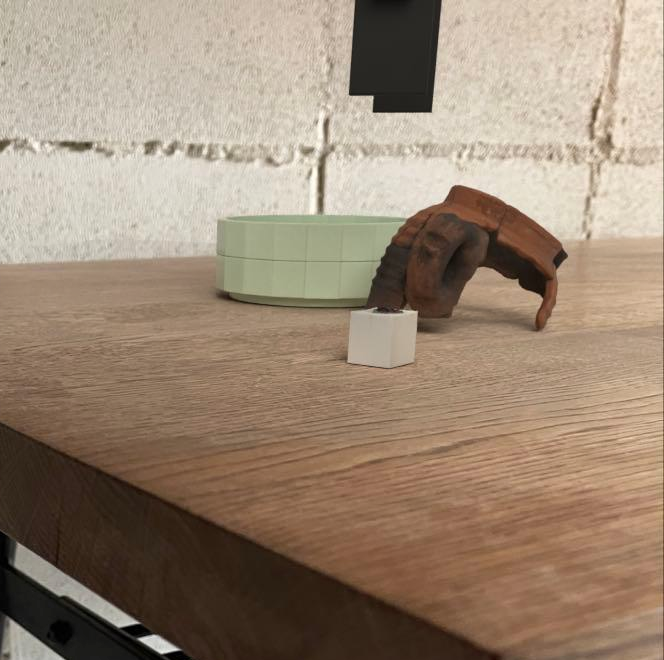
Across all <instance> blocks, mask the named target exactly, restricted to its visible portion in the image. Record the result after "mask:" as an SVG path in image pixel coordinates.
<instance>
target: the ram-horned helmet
mask: <svg viewBox="0 0 664 660" xmlns="http://www.w3.org/2000/svg"><path fill="white" fill-rule="evenodd" d="M407 218H408V219H407V221H406V223H405V224H404V225H403V226H401V227H400V228H399V229H398V232H397V234H396V235H394V236H393V237H392V239H391V243H390V245H389V246H387V247H386V251H385V255H384V256H383V257H381V264H380V266H379V267H378V268H377V269H376V276H375V277H374V278H373V279H372V286H371V288H370V294H369V297H368V300H367V304H366V306H363V309H362V310H368V309H372V308H376V307H377V308H378V307H381V306H384V307H386V305H390V306H392V307H393V308H394V309H397V310H405V309H404V308H405V307H406V305H407V304H408V306H409V308H410V309H411V311H418V315H417V318H420V319H450V318H451V317H452V315H453V311H454V308H455V307H456V306H457V305H458V303H459V300H460V298H461V296H462V293H463V291H464V290H465V287H466V285H467V283H468V282H469V281H470V280H471V279H472V278H473V276H474V275H475V274H476V272H477V269H480V268H486V269H491V270H494V271H495V272H497V273H498V274H499V275H501V276H502V277H504V278H505V279H508V280H514V281H518V285H519V287H521V288H522V289H523V290H525V291H527V292H531V293H534V294H537V295H539V296H540V297H541V298H542V301H541V304H540V306H539V308H538V310H537V312H536V314H535V320H534V325H535V327H536V329H537V331H540V330H543V329H544V328H545V327H546V326H547V322H548V320H549V319H550V318H551V317H552V315H553V314H552V313H553V309H554V308H555V306H556V304H557V295H558V289H559V288H558V286H559V281H558V275H557V270H558V269H559V268H560V267H561V265H562V264H563V262H564V261H565V260H566V259H568V258H569V255H568V253H567V252H566V251H565V249H564V247H563V244H562V242H561V241H560V240H559V239H558V238H556V236H554V235H553V234H551V233H550V232H549V231H548V230H547V229H546V228H545V227H544V226H542V225H540V224H539V223H538V222H537V221H536V220H534V219H533V218H531V217H529V216H528V215H527V214H526V213H524V212H522V211H520V210H519V209H518V208H516V207H515V206H513V205H510V204H508V203H506V202H505V201H504V200H502V199H500V198H498V197H496V196H494V195H492V194H489V193H487V192H484V191H482V190H479V189H477V188H473V187H469V186H466V185H463V184H454V185H452V187H450V189H449V191H448V194H447V196H446V197H445V198H444V200H443V201H442V202H440V203H437V204H432V205H429V206H428V207H426V208H423V209H420V210H418V211H417V212H416V213H415V214H413V215H412V216H410V217H407Z"/></svg>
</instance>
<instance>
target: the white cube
mask: <svg viewBox="0 0 664 660" xmlns="http://www.w3.org/2000/svg"><path fill="white" fill-rule="evenodd" d="M417 315H418V311H413V310H405V309H403V310H397V309H394V308H393V307H392V306H390V305H386V307H384V306H381V307H378V308H377V307H376V308H372V309H368V310H363V309H362V310H352V311H350V319H349V329H348V330H349V332H348V344H347V345H348V346H347V347H348V348H347V361H346V362H347V364H354V365H361V366H369V367H377V368H385V369H392V368H396V367H397V368H398V367H400V366H404V365H408V364H412V363H415V355H416V344H417V343H416V342H417V333H418V332H417V329H418V316H417Z"/></svg>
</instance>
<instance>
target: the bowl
mask: <svg viewBox="0 0 664 660" xmlns="http://www.w3.org/2000/svg"><path fill="white" fill-rule="evenodd" d="M408 218H409V217H404V216H388V215H387V216H386V215H364V214H363V215H361V214H359V215H358V214H356V215H355V214H250V215H249V214H245V215H230V216H221V217H217V220H216V246H215V247H216V250H215V251H216V255H215V284H214V285H215V288H216V289H217V290H220V291H223V292H227V293H228V295H229V297H230V299H233V300H236V301H239V302H244V303H252V304H258V305H268V306H278V307H279V306H281V307H299V308H301V307H302V308H358V307H359V308H361V307H363V308H364V307H365V306H366V304H367V300H368V297H369V294H370V288H371V286H372V279H373V278H374V277H375V276H376V269H377V268H378V267H379V266H380V264H381V257H383V256H384V255H385V251H386V247H387V246H389V245H390V243H391V239H392V237H393V236H394V235H396V234H397V232H398V229H399V228H400V227H401V226H403V225H404V224H405V223H406V221H407V219H408Z"/></svg>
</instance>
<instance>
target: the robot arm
mask: <svg viewBox="0 0 664 660" xmlns="http://www.w3.org/2000/svg"><path fill="white" fill-rule="evenodd" d="M442 3H443V0H354V7H353V8H354V10H353V23H352V38H351V50H350V51H351V52H350V54H351V55H350V67H349V83H348V84H349V85H348V96H350V97H373V99H372V110H371V111H372V113H373V114H433V106H434V105H433V104H434V95H435V94H434V93H435V83H436V71H437V61H438V51H439V50H438V48H439V36H440V25H441V14H442Z"/></svg>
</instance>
